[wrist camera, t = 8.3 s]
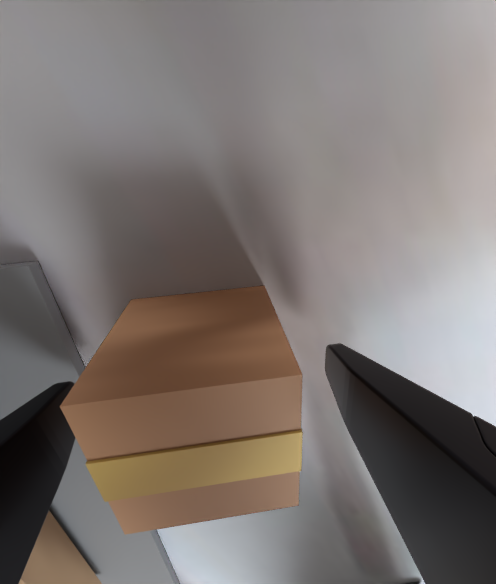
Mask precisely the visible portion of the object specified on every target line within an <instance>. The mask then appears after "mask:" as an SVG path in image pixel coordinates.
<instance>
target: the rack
mask: <svg viewBox="0 0 496 584" xmlns="http://www.w3.org/2000/svg"><path fill="white" fill-rule="evenodd" d="M19 584H102V583H101V582H100V580H99V579H98V577H97V576H96V575H95V573H94V572H93V571H92V569H91V568H90V566H89V565H88V564H87V562H86V561H85V559H84V558H83V557H82V555H81V554H80V553H79V551H78V550H77V548H76V547H75V546H74V544H73V543H72V541H71V540H70V539H69V537H68V536H67V535H66V533H65V532H64V530H63V529H62V528H61V526H60V525H59V523H58V522H57V521H56V519H55V518H54V517H53V515H52V514H51V512H50V511H49V512H48V514H47V516H46V519H45V521H44V524H43V526H42V528H41V531H40V533H39V536H38V538H37V541H36V543H35V545H34V548H33V550H32V553H31V555H30V558H29V560H28V562H27V565H26V567H25V570H24V572H23V575H22V577H21V579H20V582H19Z"/></svg>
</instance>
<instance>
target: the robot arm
mask: <svg viewBox="0 0 496 584" xmlns="http://www.w3.org/2000/svg"><path fill="white" fill-rule="evenodd" d="M325 371H326V375H327V378H328V381H329V383H330V386H331V388H332V391H333V394H334V396H335V399H336V402H337V404H338V407H339V410H340V412H341V415H342V417H343V420H344V422H345V425H346V427H347V429H348V431H349V433H350V435H351V437H352V439H353V441H354V443H355V445H356V447H357V449H358V451H359V453H360V455H361V457H362V459H363V461H364V463H365V465H366V467H367V469H368V471H369V473H370V475H371V477H372V479H373V481H374V483H375V485H376V487H377V489H378V491H379V492H380V494H381V496H382V498H383V500H384V502H385V504H386V506H387V508H388V510H389V512H390V514H391V516H392V518H393V520H394V522H395V524H396V526H397V528H398V530H399V532H400V534H401V536H402V538H403V540H404V542H405V544H406V546H407V548H408V550H409V552H410V554H411V556H412V558H413V560H414V562H415V564H416V566H417V568H418V570H419V572H420V574H421V576H422V578H423V580H424V582H425V584H496V426H494V425H492V424H490V423H488V422H486V421H484V420H483V419H481V418H479V417H477V416H474V417H473V415H472V414H471V413H469V412H467V411H466V410H464V409H462V408H460V407H458V406H456V405H454V404H453V403H451V402H449V401H447V400H445V399H443V398H441V397H440V396H438V395H436V394H434V393H432V392H430V391H428V390H427V389H425V388H423V387H421V386H419V385H417V384H415V383H414V382H412V381H410V380H408V379H406V378H404V377H402V376H401V375H399V374H397V373H395V372H393V371H391V370H389V369H388V368H386V367H384V366H382V365H380V364H378V363H376V362H375V361H373V360H371V359H369V358H367V357H365V356H363V355H362V354H360V353H358V352H356V351H354V350H352V349H350V348H349V347H347V346H345V345H343V344H340V343H338V344H331V345H328V346H327V347H326V357H325ZM74 384H75V383H74V382H72V381H67V382H59V383H56V384H53V385H52V386H50V387H49V388H47V389H46V390H44V391H43V392H41V393H40V394H38V395H37V396H36V397H34V398H33V399H31V400H30V401H28V402H27V403H25V404H24V405H22V406H21V407H19V408H18V409H16V410H15V411H13V412H12V413H10V414H9V415H7V416H6V417H4V418H3V419H1V420H0V584H19V582H20V579H21V577H22V575H23V572H24V570H25V567H26V565H27V562H28V560H29V558H30V555H31V553H32V550H33V548H34V545H35V543H36V541H37V538H38V536H39V533H40V531H41V528H42V526H43V524H44V521H45V519H46V516H47V514H48V512H49V509H50V507H51V504H52V502H53V499H54V497H55V495H56V492H57V490H58V487H59V485H60V482H61V480H62V477H63V475H64V472H65V470H66V467H67V464H68V461H69V458H70V455H71V452H72V448H73V445H74V442H75V439H76V438H75V436H74V434H73V432H72V430H71V428H70V426H69V424H68V422H67V420H66V418H65V416H64V414H63V412H62V410H61V408H60V405H61V404H62V402H63V401H64V399H65V398H66V396H67V395H68V393H69V392H70V390H71V389H72V387H73V386H74Z"/></svg>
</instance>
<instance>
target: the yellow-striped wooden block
mask: <svg viewBox="0 0 496 584" xmlns="http://www.w3.org/2000/svg"><path fill="white" fill-rule="evenodd" d="M301 404H302V373H301V370H300V368H299V366H298V363H297V361H296V359H295V356H294V354H293V352H292V349H291V347H290V345H289V342H288V340H287V338H286V335H285V333H284V331H283V328H282V326H281V323H280V321H279V319H278V316H277V314H276V312H275V309H274V307H273V305H272V302H271V300H270V298H269V295H268V293H267V291H266V288H265V286H256V287H246V288H236V289H227V290H217V291H208V292H198V293H189V294H179V295H170V296H160V297H151V298H141V299H132V300H131V301H130V302H129V304H128V305H127V307H126V308H125V310H124V311H123V313H122V314H121V316H120V317H119V319H118V320H117V322H116V323H115V325H114V326H113V328H112V329H111V331H110V332H109V334H108V335H107V336H106V338H105V339H104V341H103V342H102V344H101V345H100V347H99V348H98V350H97V351H96V353H95V354H94V356H93V357H92V359H91V360H90V362H89V363H88V365H87V366H86V368H85V369H84V371H83V372H82V374H81V375H80V377H79V378H78V380H77V381H76V383H75V384H74V386H73V387H72V389H71V390H70V392H69V393H68V395H67V396H66V398H65V399H64V401H63V402H62V404H61V405H60V408H61V410H62V412H63V414H64V416H65V418H66V420H67V422H68V424H69V426H70V428H71V430H72V432H73V434H74V436H75V438H76V439H77V441H78V443H79V445H80V447H81V449H82V451H83V453H84V455H85V457H86V459H87V462H86V464H85V465H86V467H87V469H88V471H89V472H90V474H91V476H92V478H93V480H94V482H95V484H96V486H97V488H98V490H99V492H100V494H101V496H102V498H103V500H104V501H105V502H109V504H110V506H111V508H112V510H113V512H114V514H115V516H116V518H117V520H118V522H119V524H120V526H121V528H122V530H123V532H124V534H125V535H126V534H132V533H138V532H144V531H150V530H156V529H162V528H168V527H174V526H180V525H186V524H192V523H197V522H203V521H209V520H215V519H221V518H227V517H233V516H239V515H245V514H251V513H257V512H263V511H269V510H275V509H281V508H287V507H292V506H298V505H299V474H300V471H301V464H302V433H303V432H302V429H301Z"/></svg>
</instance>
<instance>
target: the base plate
mask: <svg viewBox="0 0 496 584" xmlns="http://www.w3.org/2000/svg"><path fill="white" fill-rule="evenodd" d="M84 369H85V367H84V365H83V363H82V360H81V358H80V356H79V354H78V351H77V349H76V347H75V344H74V342H73V340H72V338H71V335H70V333H69V331H68V329H67V326H66V324H65V322H64V319H63V317H62V315H61V313H60V310H59V308H58V306H57V304H56V301H55V299H54V297H53V294H52V292H51V290H50V288H49V285H48V283H47V281H46V279H45V276H44V274H43V272H42V269H41V267H40V265H39V263H38V261H33V262H24V263H15V264H6V265H0V420H1V419H3V418H4V417H6V416H7V415H9V414H10V413H12V412H13V411H15V410H16V409H18V408H19V407H21V406H22V405H24V404H25V403H27V402H28V401H30V400H31V399H33V398H34V397H36V396H37V395H38V394H40V393H41V392H43V391H44V390H46V389H47V388H49V387H50V386H52V385H53V384H56V383H59V382H67V381H72V382H74V383H76V381H77V380H78V378H79V377H80V375H81V374H82V372H83V371H84ZM86 462H87V459H86V457H85V455H84V453H83V451H82V449H81V447H80V445H79V443H78V441H77V439H75V442H74V445H73V448H72V452H71V455H70V458H69V461H68V464H67V467H66V470H65V472H64V475H63V477H62V480H61V482H60V485H59V487H58V490H57V492H56V495H55V497H54V499H53V502H52V504H51V507H50V509H49V511H50V512H51V514H52V515H53V517H54V518H55V519H56V521H57V522H58V523H59V525H60V526H61V528H62V529H63V530H64V532H65V533H66V535H67V536H68V537H69V539H70V540H71V541H72V543H73V544H74V546H75V547H76V548H77V550H78V551H79V553H80V554H81V555H82V557H83V558H84V559H85V561H86V562H87V564H88V565H89V566H90V568H91V569H92V571H93V572H94V573H95V575H96V576H97V577H98V579H99V580H100V582H101V583H102V584H180V583H179V581H178V579H177V576H176V574H175V572H174V569H173V567H172V565H171V563H170V560H169V558H168V556H167V554H166V551H165V549H164V547H163V544H162V542H161V540H160V538H159V535H158V533H157V531H156V530H150V531H144V532H138V533H132V534H126V535H125V534H124V532H123V530H122V528H121V526H120V524H119V522H118V520H117V518H116V516H115V514H114V512H113V510H112V508H111V506H110V504H109V502H105V501H104V500H103V498H102V496H101V494H100V492H99V490H98V488H97V486H96V484H95V482H94V480H93V478H92V476H91V474H90V472H89V471H88V469H87V467H86V465H85V464H86Z"/></svg>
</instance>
